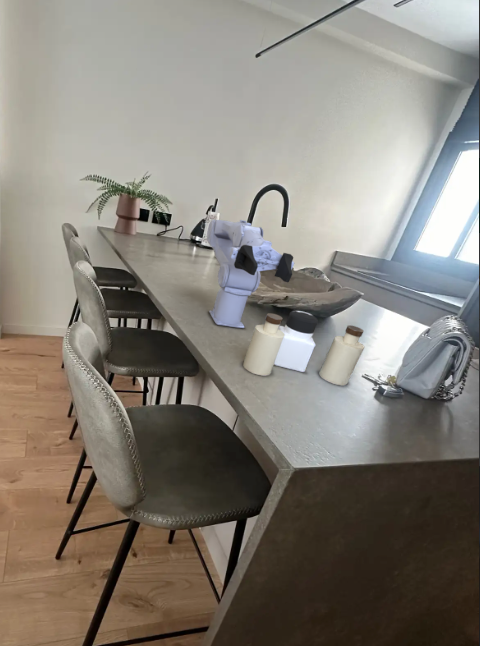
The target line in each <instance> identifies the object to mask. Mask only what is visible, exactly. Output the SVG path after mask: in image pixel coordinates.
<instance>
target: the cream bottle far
mask: <svg viewBox="0 0 480 646" xmlns="http://www.w3.org/2000/svg"><path fill="white" fill-rule="evenodd" d="M364 332H365V331H364V329H362V328H361V327H358V326H356V325H352V324H351V325H346V329H345V333H344V335H343V336H342V335H336V336H334V338H333V340H332V342H331V345H330V346H329V350H328V352H327V354H326V356H325V358H324V360H323V363H322V365H321V368H320V370H319V373H318V374H319V377H321V379H323V380H325V381H326V382H328V383H330V384H333V385H336V386H347V385H348V383H349V381H350V378H351V377H352V376H353V375H352V374H353V373H354V370H355V368H356V367H357V365H358V362H359V360H360V358H361V356H362V354H363V352H364V349H365V345H364V344H363V343H362V342H360V341H359V340H360V338H361V337H362V336H363V334H364Z"/></svg>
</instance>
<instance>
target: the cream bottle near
mask: <svg viewBox="0 0 480 646" xmlns="http://www.w3.org/2000/svg"><path fill="white" fill-rule="evenodd" d="M264 320H265V322H264V324H256V325H254V326H255V327H254V329H253V332H252V336H251V339H250V341H249V345H248V347H247V351H246V354H245V357H244V360H243V363H242V367H243V368H244V369H245V370H246V371H248V373H249V372H250V373H252V374H254V375H257V376H262V377H263V376H264V377H265V376H270V375H271V373H272V370H273V369H274V366H275V365H274V363H275V360H276V357H277V354H278V352H279V349H280V346H281V344H282V341H283V338H284V333H283V332H282V331H280V330H279V329H278V328H279V326H281V325H282V322H283V317H282V316H281V315H279V314H276V313H268V312H267V314H266V315H265V319H264Z"/></svg>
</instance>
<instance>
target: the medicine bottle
mask: <svg viewBox="0 0 480 646" xmlns="http://www.w3.org/2000/svg"><path fill="white" fill-rule="evenodd" d="M318 322H319V320H318V318H317V317H316V316H315V315H313V314H311V313H309V312H305V311H301V310H292V311H290V312H289V314H288V317H287V319H286V323H285V325H284V326H283V325H279V328H278V329H279V330H280V331H282V332H283V333H284V338H283V341H282V344H281V346H280V349H279V352H278V354H277V357H276V360H275V363H274V365H273V366H275V367H280V368H285V369H288V370H293V371H296V372H301V373H305V372H306V370H307V367H308V365H309V363H310V360H311V358H312V356H313V353H314V350H315V348H316V343H315V340H314V338H313V336H314V333H315V330H316V328H317V325H318V324H319V323H318Z"/></svg>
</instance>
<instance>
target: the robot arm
mask: <svg viewBox="0 0 480 646" xmlns="http://www.w3.org/2000/svg"><path fill="white" fill-rule="evenodd" d="M206 241H207V243H208V244H209V246H210V247H212V250H213V254H214V257H215V259H216V261H217V263H218V264H219V268H218V274H217V284H218V286H219V287H220V288H219V289H218V291H217V293H216V297H215V301H214V304H213V309H212V310H209V311H208V313H209V315H210V316H211V318H212V320H213V321H214V323H215V325H218V326H224V327H232V328H238V329H245V326H244V324H243V322H242V318H243V314H244V310H245V308H246V305H247V301H248V298H249V296H251V295H252V294H253V293H255V292H256V291H257V290H258V288H259V286H260V283H261V279H262V277H261V272H264V271H272V270H276V271H275V274H274V277H275V278H280V279H281V280H282V281H283V282H285V283H290V281H291V279H292V276H293V270H292V269H293V268H294V265H295V262H294V261H293V260H294V255H292V254H291V253H288V252H283V253H280V252H279V251H277V250H276V249H275V248H273V247H272V245H273V242H271V240H266V239H264V230H263V228H262V227H261V226H252V223H250V222H247V220H244V219H239V221H230V220H223V219H212V220H210V222H209V223H208V227H207V232H206Z"/></svg>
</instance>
